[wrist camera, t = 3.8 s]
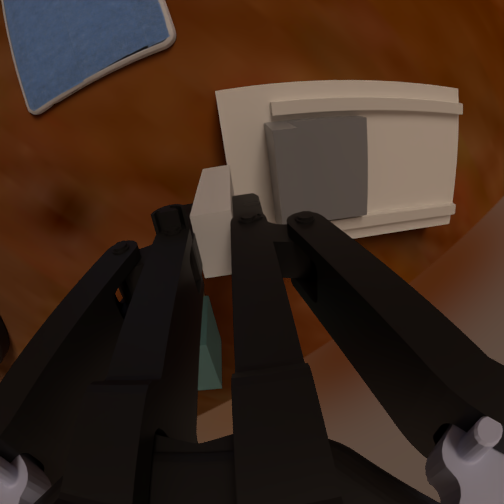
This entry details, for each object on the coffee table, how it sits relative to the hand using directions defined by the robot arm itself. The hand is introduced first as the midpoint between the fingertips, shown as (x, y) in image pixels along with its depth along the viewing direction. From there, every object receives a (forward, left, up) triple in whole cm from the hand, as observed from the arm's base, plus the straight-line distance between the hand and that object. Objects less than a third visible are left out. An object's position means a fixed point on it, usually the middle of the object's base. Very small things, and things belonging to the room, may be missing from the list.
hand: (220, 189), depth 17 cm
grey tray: (+9, 0, -5) cm, 10 cm away
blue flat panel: (-9, +18, -5) cm, 21 cm away
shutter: (+6, 0, -2) cm, 6 cm away
